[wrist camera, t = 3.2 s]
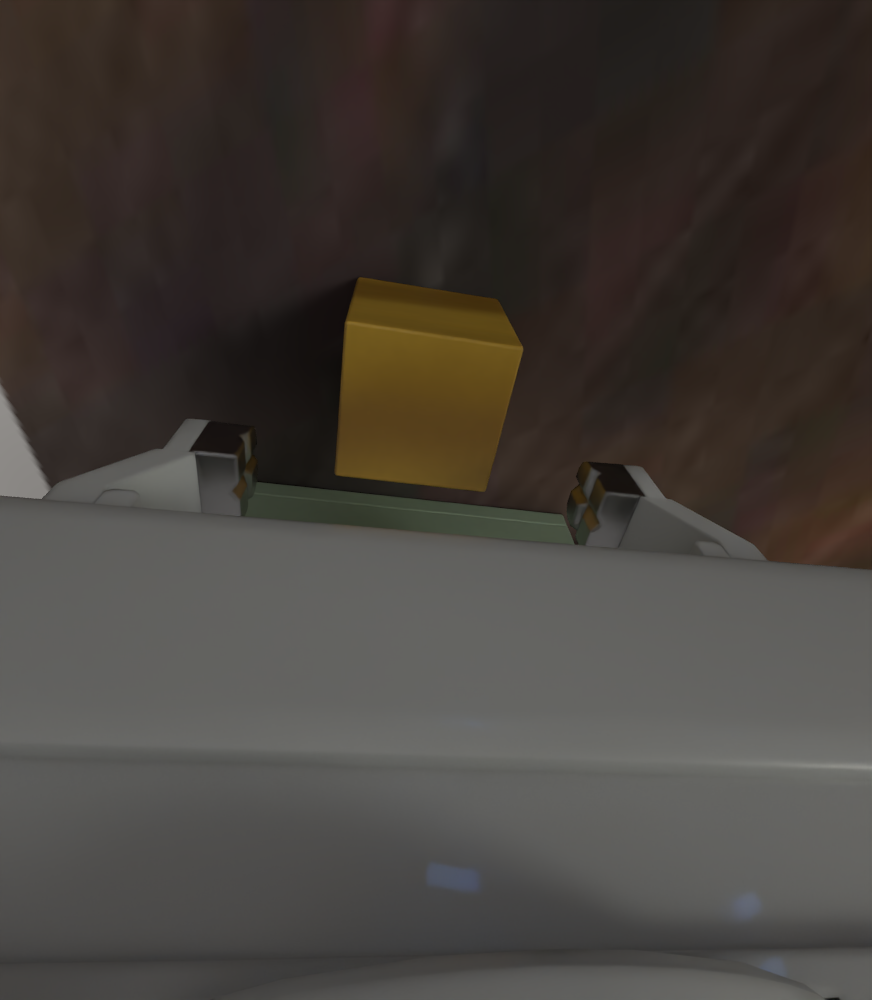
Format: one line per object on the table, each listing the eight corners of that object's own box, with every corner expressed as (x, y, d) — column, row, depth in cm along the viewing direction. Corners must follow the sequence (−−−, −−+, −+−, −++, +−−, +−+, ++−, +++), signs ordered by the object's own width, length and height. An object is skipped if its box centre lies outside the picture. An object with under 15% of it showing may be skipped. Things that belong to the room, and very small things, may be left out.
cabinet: (563, 513, 22) (632, 684, 15) (497, 686, 28) (526, 858, 22) (216, 476, 20) (124, 652, 13) (232, 670, 27) (176, 852, 20)
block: (357, 276, 16) (344, 320, 13) (498, 298, 17) (524, 347, 13) (347, 407, 19) (333, 476, 15) (470, 423, 19) (485, 493, 16)
